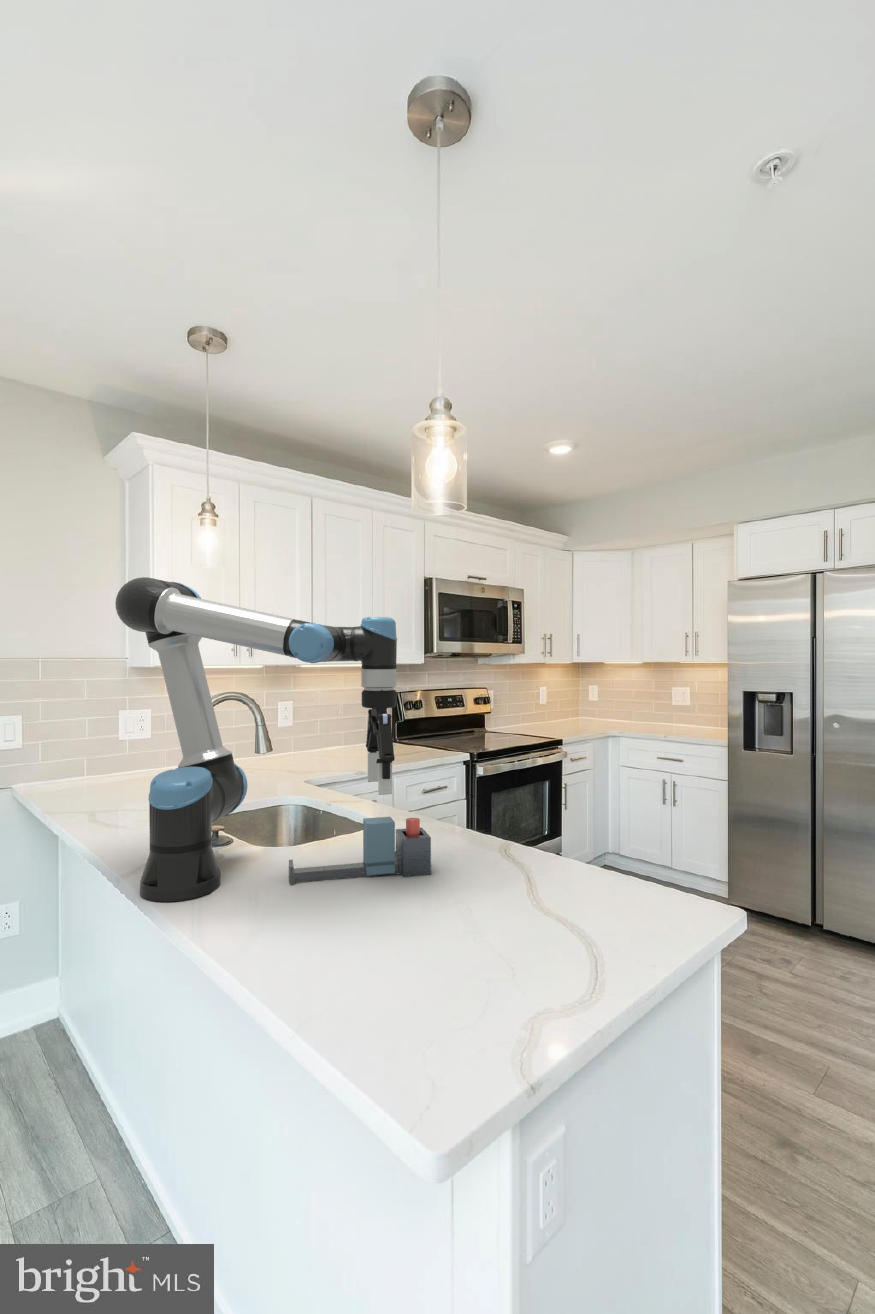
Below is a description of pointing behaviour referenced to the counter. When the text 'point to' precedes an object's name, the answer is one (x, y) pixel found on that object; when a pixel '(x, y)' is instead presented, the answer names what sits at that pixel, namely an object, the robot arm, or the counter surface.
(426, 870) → the block
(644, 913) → the counter surface
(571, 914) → the counter surface
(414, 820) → the cylinder
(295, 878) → the rail
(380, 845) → the carriage
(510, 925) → the counter surface
